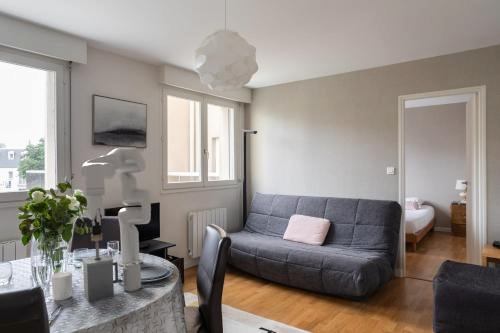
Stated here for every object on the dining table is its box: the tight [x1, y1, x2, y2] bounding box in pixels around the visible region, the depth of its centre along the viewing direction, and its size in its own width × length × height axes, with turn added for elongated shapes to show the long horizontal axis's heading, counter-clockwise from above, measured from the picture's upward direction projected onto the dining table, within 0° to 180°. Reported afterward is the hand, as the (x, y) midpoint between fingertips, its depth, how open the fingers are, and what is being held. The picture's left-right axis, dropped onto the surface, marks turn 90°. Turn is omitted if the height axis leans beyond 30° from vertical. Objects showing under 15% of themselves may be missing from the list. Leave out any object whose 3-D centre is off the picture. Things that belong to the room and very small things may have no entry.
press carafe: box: [81, 253, 119, 303], centre depth 145 cm, size 10×13×16 cm
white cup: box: [50, 270, 73, 302], centre depth 144 cm, size 8×8×10 cm
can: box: [122, 261, 142, 292], centre depth 151 cm, size 8×8×12 cm
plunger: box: [90, 232, 104, 260], centre depth 144 cm, size 4×4×14 cm
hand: (96, 234), depth 144 cm, fingers closed
